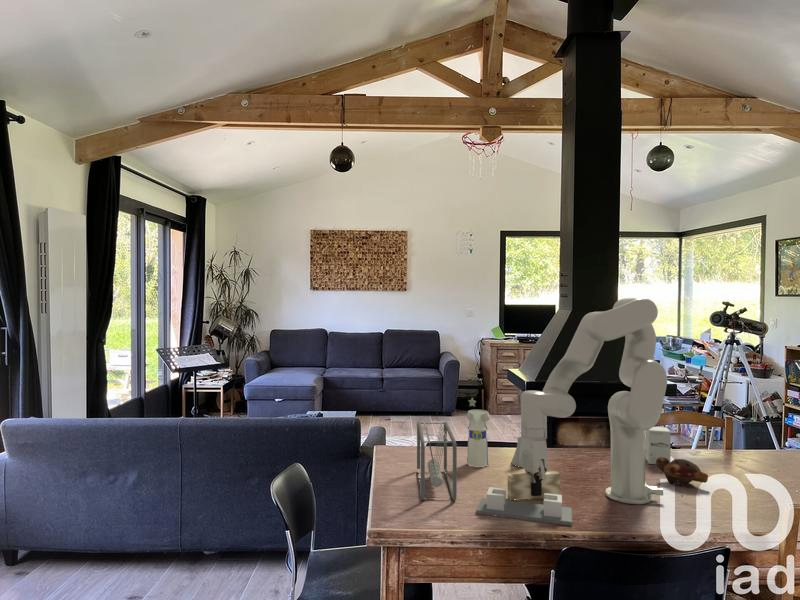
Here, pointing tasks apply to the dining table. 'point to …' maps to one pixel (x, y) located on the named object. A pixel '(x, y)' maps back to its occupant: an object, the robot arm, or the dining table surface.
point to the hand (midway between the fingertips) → (533, 493)
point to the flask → (516, 454)
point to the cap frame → (525, 508)
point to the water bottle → (477, 436)
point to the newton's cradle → (434, 464)
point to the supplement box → (657, 444)
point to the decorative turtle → (681, 471)
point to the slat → (522, 485)
